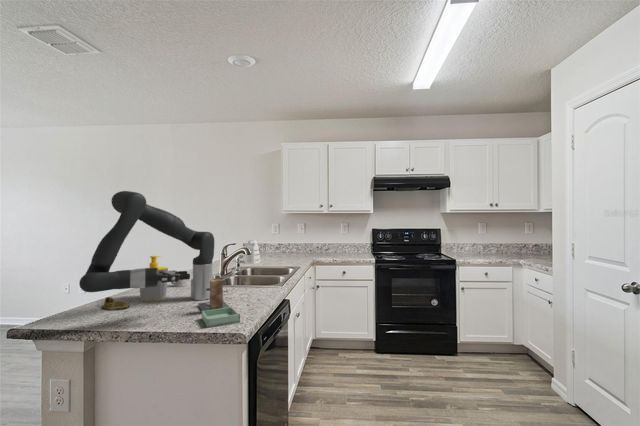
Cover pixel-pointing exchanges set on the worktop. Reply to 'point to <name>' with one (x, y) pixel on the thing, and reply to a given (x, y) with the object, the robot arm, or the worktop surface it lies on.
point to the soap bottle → (154, 292)
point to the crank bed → (207, 305)
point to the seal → (114, 305)
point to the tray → (220, 316)
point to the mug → (180, 283)
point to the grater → (253, 254)
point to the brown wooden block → (216, 294)
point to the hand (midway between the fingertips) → (188, 274)
